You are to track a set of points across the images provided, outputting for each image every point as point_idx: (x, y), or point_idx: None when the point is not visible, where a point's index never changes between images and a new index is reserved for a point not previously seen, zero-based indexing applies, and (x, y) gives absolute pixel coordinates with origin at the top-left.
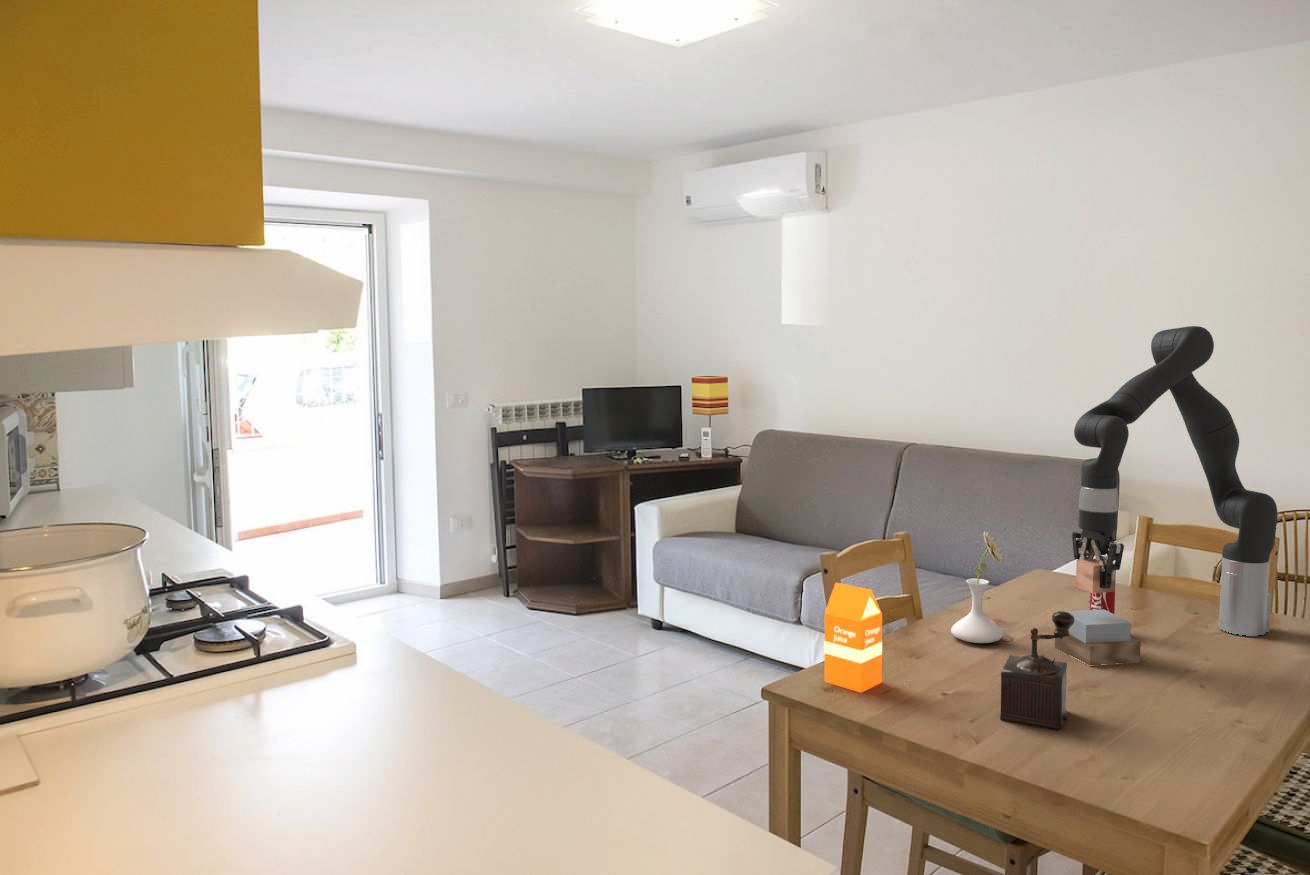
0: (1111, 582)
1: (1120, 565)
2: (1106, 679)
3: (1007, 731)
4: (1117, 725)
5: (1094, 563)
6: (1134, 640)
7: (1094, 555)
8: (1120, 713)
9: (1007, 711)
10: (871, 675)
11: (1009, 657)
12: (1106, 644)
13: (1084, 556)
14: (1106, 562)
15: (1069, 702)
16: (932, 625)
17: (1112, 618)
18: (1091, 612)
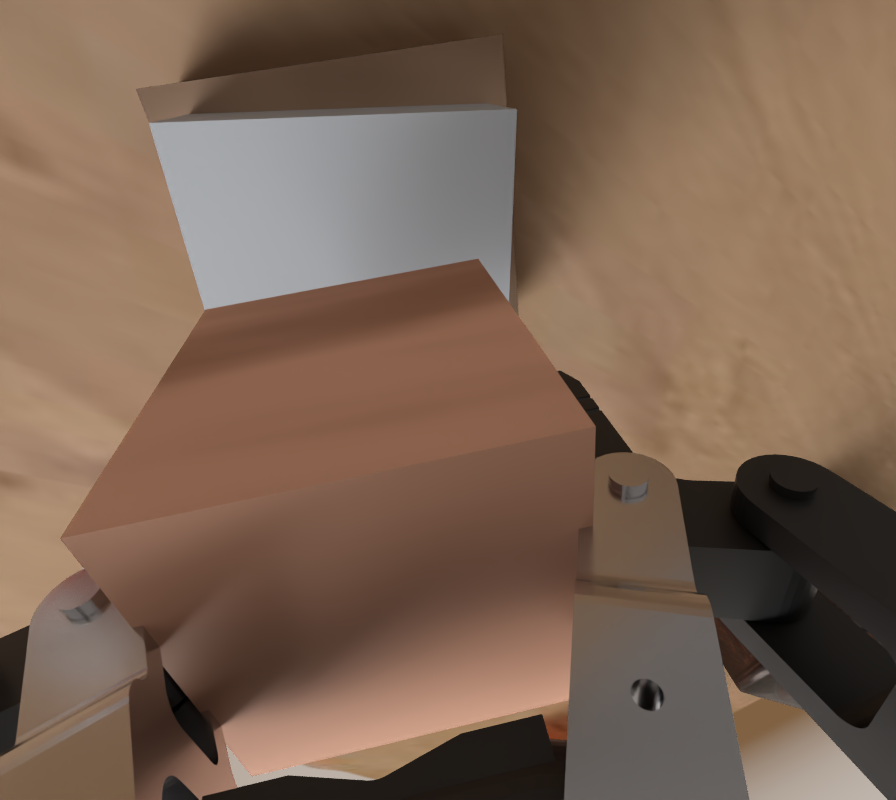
0: (584, 389)
1: (880, 503)
2: (624, 314)
3: None
4: (880, 429)
5: (474, 666)
6: (480, 66)
7: (149, 690)
8: (838, 394)
9: None
10: None
11: (756, 695)
12: (515, 271)
13: (231, 782)
14: (436, 524)
15: (729, 478)
16: None
17: (401, 190)
18: (254, 267)
